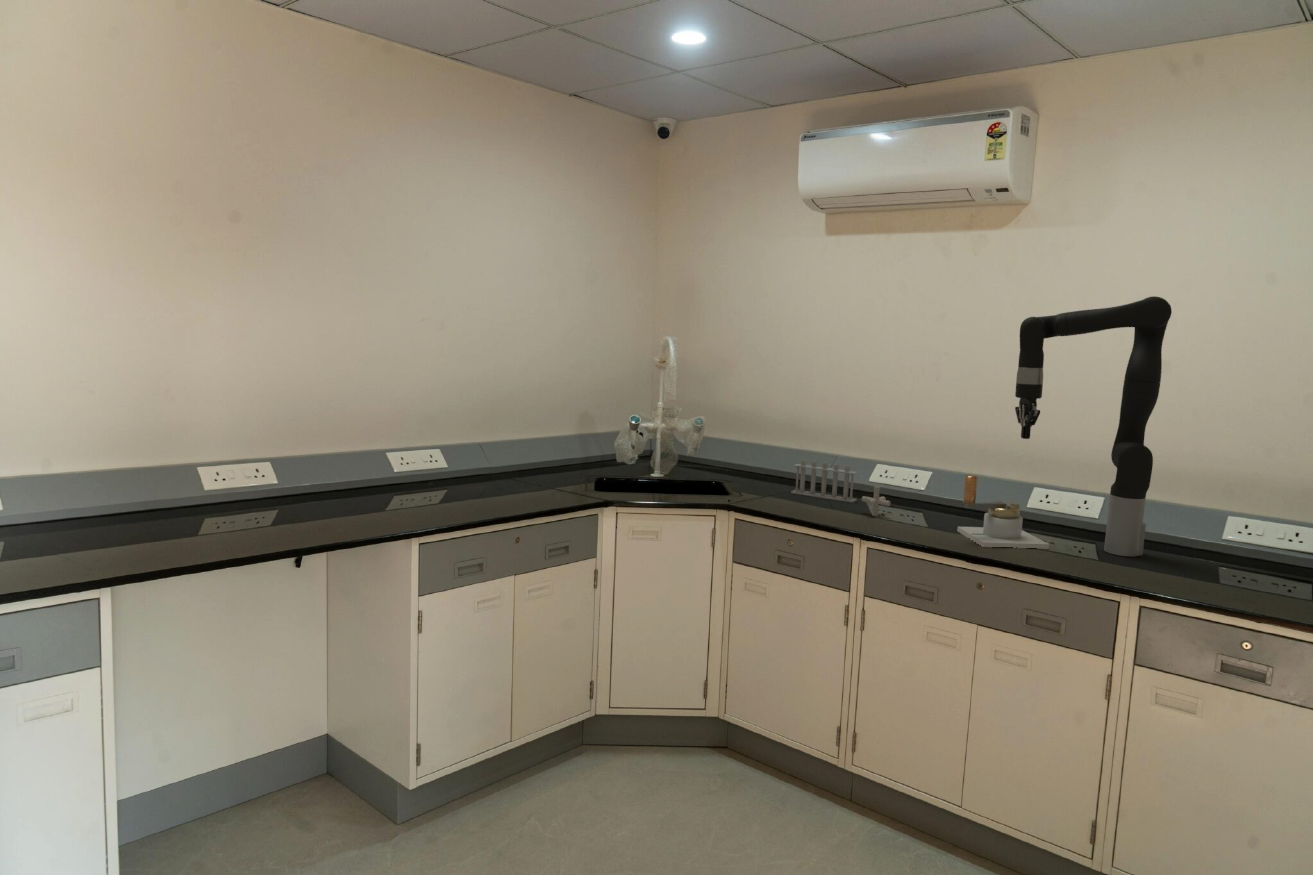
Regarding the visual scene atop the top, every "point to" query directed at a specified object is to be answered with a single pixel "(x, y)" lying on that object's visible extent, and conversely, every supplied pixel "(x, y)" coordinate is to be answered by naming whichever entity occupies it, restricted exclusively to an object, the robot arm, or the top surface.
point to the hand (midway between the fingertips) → (1025, 438)
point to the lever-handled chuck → (994, 507)
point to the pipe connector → (876, 501)
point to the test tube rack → (824, 481)
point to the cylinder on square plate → (1002, 534)
